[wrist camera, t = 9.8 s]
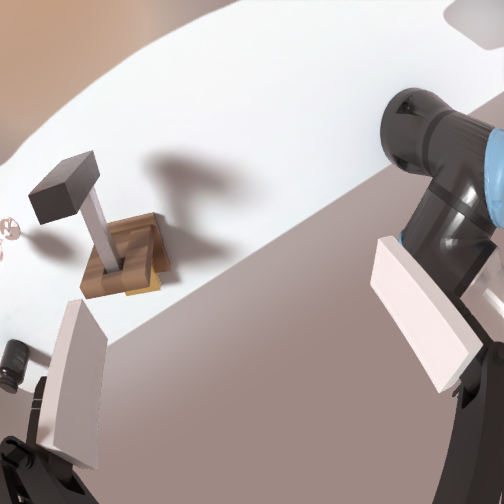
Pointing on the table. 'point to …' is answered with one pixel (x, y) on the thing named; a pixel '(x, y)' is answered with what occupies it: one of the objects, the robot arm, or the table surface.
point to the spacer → (154, 283)
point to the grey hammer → (77, 203)
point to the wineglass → (7, 235)
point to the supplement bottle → (13, 365)
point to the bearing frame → (127, 258)
